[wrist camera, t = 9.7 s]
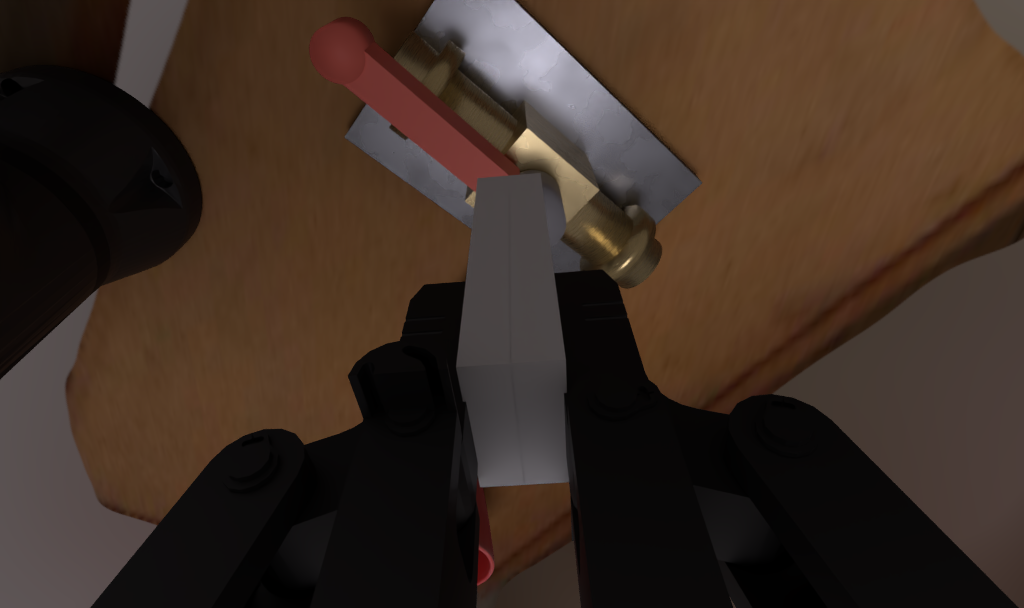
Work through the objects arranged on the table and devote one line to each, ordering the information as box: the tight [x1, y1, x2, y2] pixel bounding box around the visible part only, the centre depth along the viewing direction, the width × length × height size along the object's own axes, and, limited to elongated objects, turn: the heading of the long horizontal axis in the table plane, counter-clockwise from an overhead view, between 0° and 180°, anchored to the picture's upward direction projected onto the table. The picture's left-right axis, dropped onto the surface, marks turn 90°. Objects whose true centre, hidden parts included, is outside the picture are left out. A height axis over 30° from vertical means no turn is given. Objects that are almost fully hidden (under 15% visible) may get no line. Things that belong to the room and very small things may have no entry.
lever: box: [309, 17, 566, 247], centre depth 29 cm, size 4×16×4 cm, turn 48°
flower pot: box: [476, 479, 494, 585], centre depth 59 cm, size 11×11×10 cm
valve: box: [345, 0, 702, 289], centre depth 36 cm, size 22×14×8 cm, turn 50°
